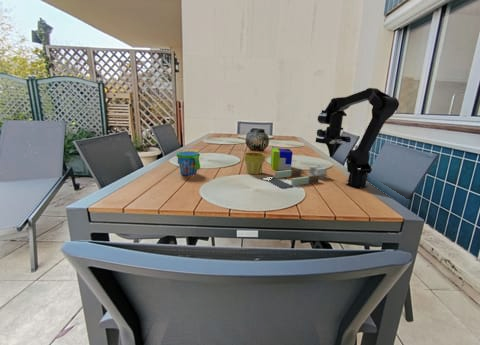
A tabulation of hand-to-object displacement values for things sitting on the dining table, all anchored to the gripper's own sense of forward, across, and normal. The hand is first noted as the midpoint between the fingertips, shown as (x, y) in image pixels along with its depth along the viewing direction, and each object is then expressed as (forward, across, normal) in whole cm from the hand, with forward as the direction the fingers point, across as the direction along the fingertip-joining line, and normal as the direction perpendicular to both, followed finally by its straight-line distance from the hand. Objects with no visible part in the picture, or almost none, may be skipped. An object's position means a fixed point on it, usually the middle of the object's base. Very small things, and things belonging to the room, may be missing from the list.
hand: (331, 156), depth 124 cm
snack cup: (+10, +65, -28) cm, 72 cm away
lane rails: (+10, +22, 0) cm, 24 cm away
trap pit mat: (+10, +33, 0) cm, 34 cm away
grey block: (+10, +8, 0) cm, 13 cm away
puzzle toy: (+10, +14, -22) cm, 28 cm away
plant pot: (+10, +34, -18) cm, 40 cm away
